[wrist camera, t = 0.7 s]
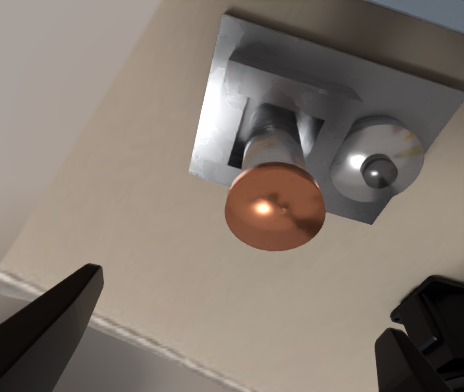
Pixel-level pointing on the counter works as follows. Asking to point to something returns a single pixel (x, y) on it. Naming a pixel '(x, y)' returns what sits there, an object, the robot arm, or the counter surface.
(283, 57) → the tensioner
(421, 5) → the tray
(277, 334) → the counter surface
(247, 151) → the lock pin
